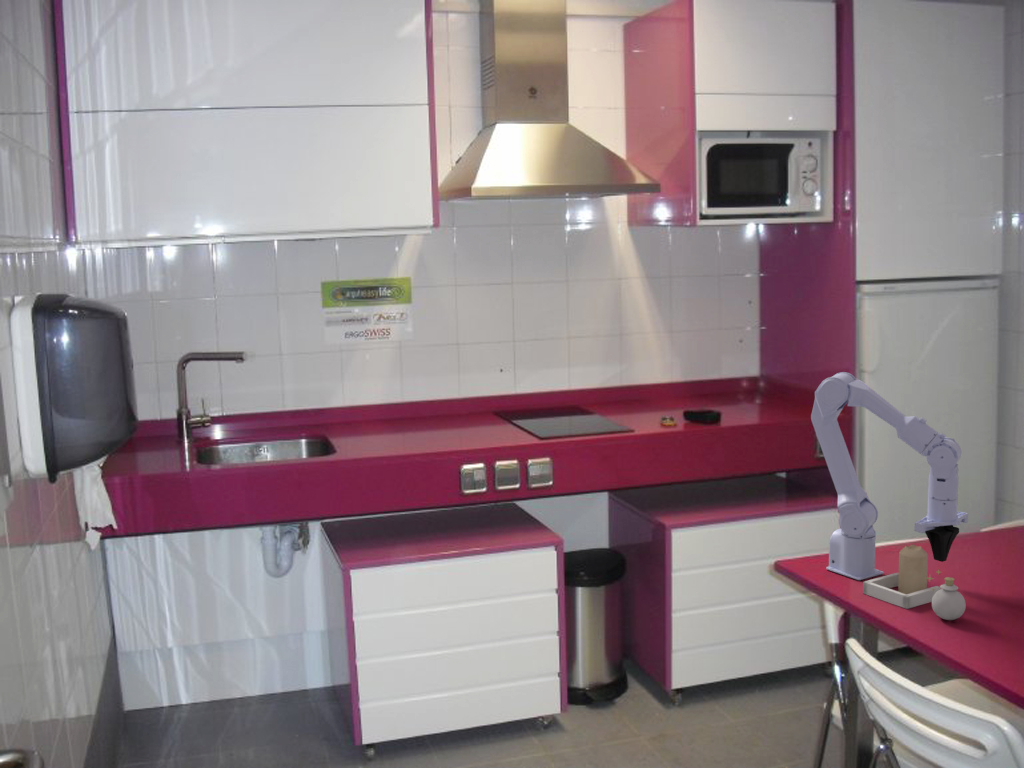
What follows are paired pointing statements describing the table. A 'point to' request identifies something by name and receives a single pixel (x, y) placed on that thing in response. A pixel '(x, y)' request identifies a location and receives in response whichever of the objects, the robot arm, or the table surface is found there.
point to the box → (882, 592)
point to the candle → (912, 569)
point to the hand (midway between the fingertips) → (940, 560)
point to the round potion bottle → (948, 600)
